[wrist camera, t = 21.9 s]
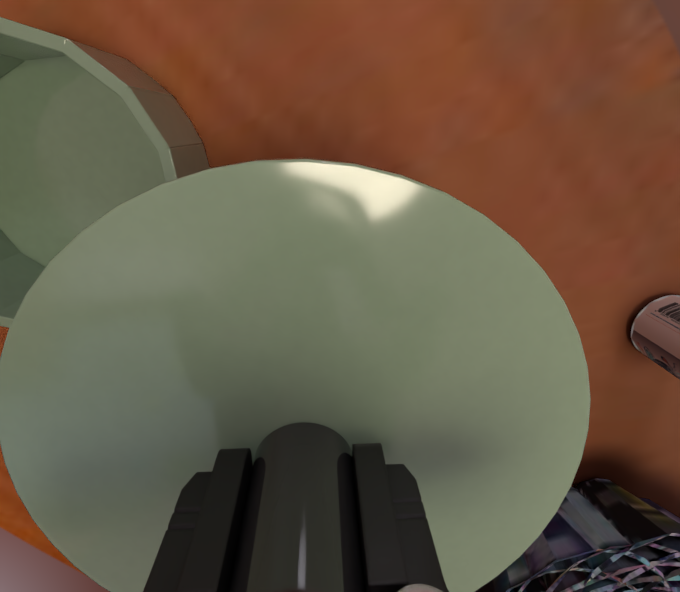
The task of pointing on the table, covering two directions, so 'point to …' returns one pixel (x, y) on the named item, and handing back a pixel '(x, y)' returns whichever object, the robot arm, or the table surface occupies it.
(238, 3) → the table surface
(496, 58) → the table surface
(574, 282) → the table surface
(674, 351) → the beer can
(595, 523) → the decorative bowl
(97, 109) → the pot
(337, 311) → the pot lid
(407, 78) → the table surface
